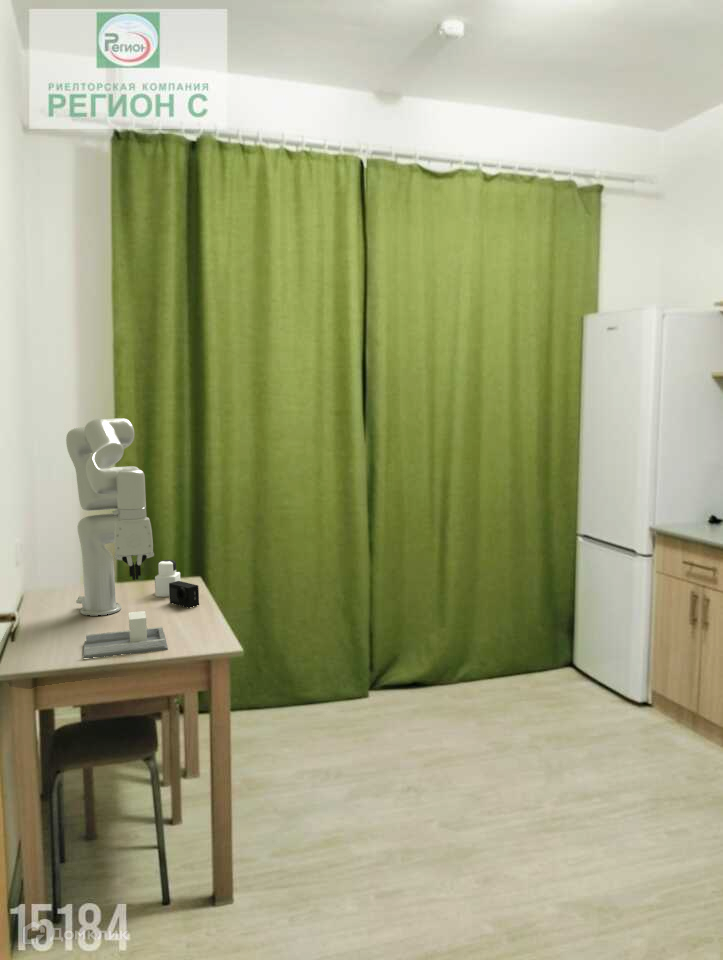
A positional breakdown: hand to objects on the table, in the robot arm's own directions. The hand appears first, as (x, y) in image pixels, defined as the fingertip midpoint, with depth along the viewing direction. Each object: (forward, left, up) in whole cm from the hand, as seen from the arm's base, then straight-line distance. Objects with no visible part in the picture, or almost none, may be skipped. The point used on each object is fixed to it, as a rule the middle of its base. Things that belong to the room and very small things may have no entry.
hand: (135, 578), depth 212 cm
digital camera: (-10, +39, -19) cm, 44 cm away
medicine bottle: (-22, +49, -19) cm, 57 cm away
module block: (0, 0, -19) cm, 19 cm away
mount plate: (-3, -2, -19) cm, 19 cm away
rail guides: (-3, -2, -19) cm, 19 cm away
